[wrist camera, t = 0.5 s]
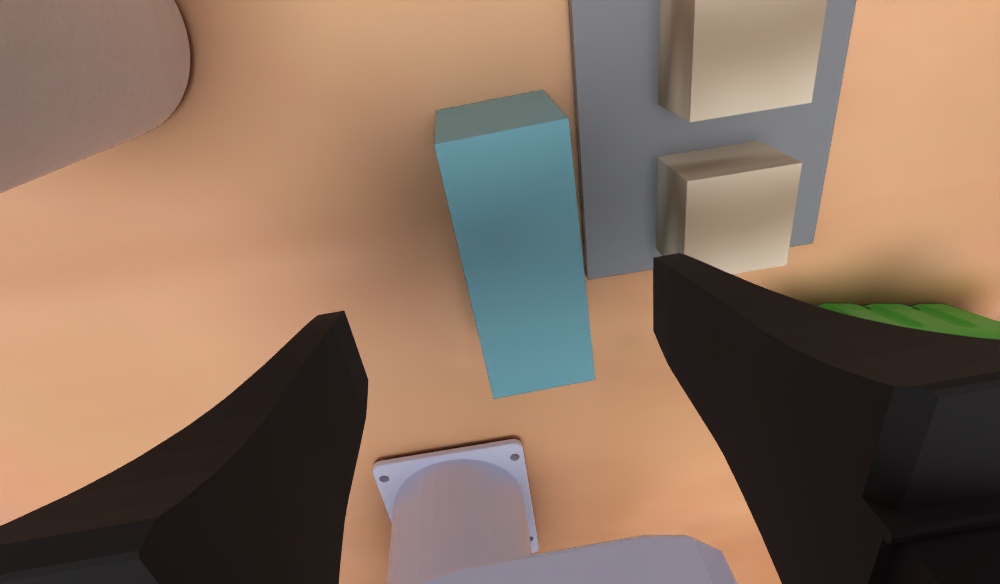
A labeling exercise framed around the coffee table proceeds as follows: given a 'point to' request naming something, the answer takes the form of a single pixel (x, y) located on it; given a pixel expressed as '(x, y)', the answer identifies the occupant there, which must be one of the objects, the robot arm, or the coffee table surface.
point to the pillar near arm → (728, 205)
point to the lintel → (518, 238)
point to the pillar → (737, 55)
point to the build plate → (675, 128)
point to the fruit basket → (923, 318)
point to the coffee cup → (84, 78)
